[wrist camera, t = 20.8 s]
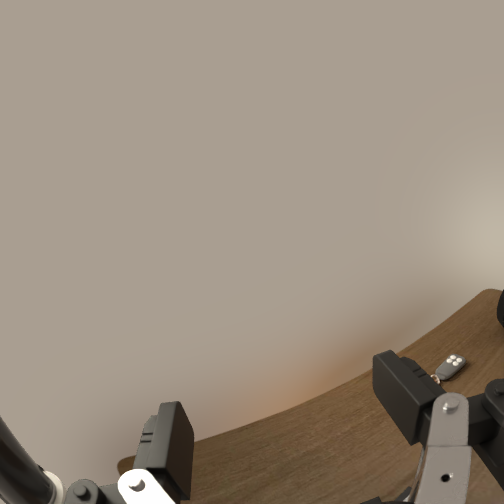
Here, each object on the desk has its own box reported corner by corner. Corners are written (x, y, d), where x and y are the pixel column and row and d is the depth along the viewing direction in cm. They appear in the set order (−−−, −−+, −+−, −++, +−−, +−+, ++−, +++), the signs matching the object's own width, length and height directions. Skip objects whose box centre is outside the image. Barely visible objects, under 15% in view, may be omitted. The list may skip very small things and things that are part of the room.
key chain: (450, 357, 40) (451, 350, 40) (466, 364, 36) (467, 357, 36) (402, 398, 36) (403, 391, 35) (419, 408, 32) (421, 401, 32)
